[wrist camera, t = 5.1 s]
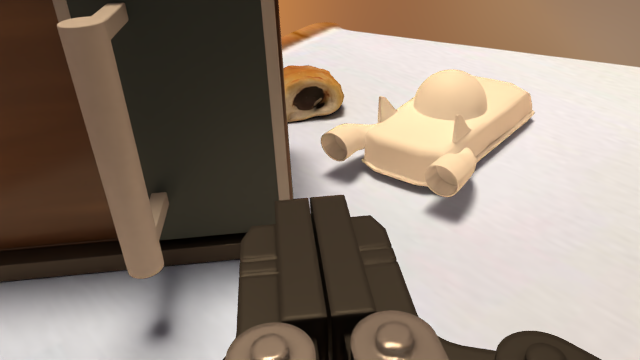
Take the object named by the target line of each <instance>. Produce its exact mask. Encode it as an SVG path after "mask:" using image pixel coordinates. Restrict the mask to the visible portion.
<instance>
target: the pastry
mask: <svg viewBox="0 0 640 360" xmlns="http://www.w3.org/2000/svg"><path fill="white" fill-rule="evenodd" d="M283 71H284V85H285V98H286V111H287V122H292V121H298V120H305V119H308V118H311V117H314V116H322V115H323V116H324V115H328V114H331V113H333V112H334V111H337V110H338V109H339V107H340V106H341V104H342V102H343V98H344V94H343V92H342V89H341V85H340V84H339V83H338V82H337V81H336V80H335V79H334V78H333V76H331V75H330V72H329V71H326V70H324V69H319V68H316V67H313V66H309V65H307V66H287V67H285V68H283Z"/></svg>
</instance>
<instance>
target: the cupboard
mask: <svg viewBox="0 0 640 360" xmlns="http://www.w3.org/2000/svg"><path fill="white" fill-rule="evenodd" d="M274 5H275V18H276V30H277V43H278V56H279V68H280V81H281V94H282V106H283V119H284V132H285V144H286V157H287V170H288V182H289V195H290V199H293V191H292V178H291V164H290V151H289V138H288V124H287V111H286V98H285V85H284V71H283V58H282V45H281V33H280V32H281V31H280V19H279V5H278V0H274ZM58 23H59V22H58V19H57V15H56V12H55V8H54V5H53V1H52V0H0V282H3V281H13V280H24V279H34V278H45V277H55V276H66V275H76V274H87V273H97V272H108V271H118V270H127V267H126V264H125V260H124V257H123V253H122V250H121V246H120V243H119V239H118V236H117V233H116V229H115V226H114V222H113V219H112V215H111V212H110V208H109V205H108V201H107V198H106V194H105V191H104V188H103V184H102V181H101V177H100V174H99V170H98V167H97V163H96V160H95V156H94V153H93V150H92V146H91V143H90V139H89V136H88V132H87V129H86V125H85V122H84V118H83V115H82V112H81V108H80V105H79V101H78V98H77V94H76V91H75V87H74V84H73V80H72V77H71V73H70V70H69V67H68V63H67V60H66V56H65V53H64V49H63V46H62V42H61V39H60V35H59V32H58V29H57V24H58ZM246 233H247V232H246ZM246 233H235V234H224V235H213V236H202V237H191V238H181V239H170V240H159V243H160V247H161V251H162V255H163V260H164V266H170V265H181V264H191V263H202V262H212V261H223V260H233V259H240V247H241V241H242V239H243V238H244V236H245V235H246Z"/></svg>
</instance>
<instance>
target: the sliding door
mask: <svg viewBox="0 0 640 360" xmlns="http://www.w3.org/2000/svg"><path fill="white" fill-rule="evenodd" d="M52 1H53V5H54V8H55V12H56V15H57V19H58V22H59V23H58V24H57V29H58V32H59V35H60V39H61V42H62V46H63V49H64V53H65V56H66V60H67V63H68V67H69V70H70V73H71V77H72V80H73V84H74V87H75V91H76V94H77V98H78V101H79V105H80V108H81V112H82V115H83V118H84V122H85V125H86V129H87V132H88V136H89V139H90V143H91V146H92V150H93V153H94V156H95V160H96V163H97V167H98V170H99V174H100V177H101V181H102V184H103V188H104V191H105V194H106V198H107V201H108V205H109V208H110V212H111V215H112V219H113V222H114V226H115V229H116V233H117V236H118V239H119V243H120V246H121V250H122V253H123V257H124V260H125V264H126V267H127V271H128V273H129V275H130V276H131V277H133V278H137V279H144V278H149V277H152V276H154V275H156V274H157V273H159V272H160V271H161V270H162V268H163V266H164V260H163V255H162V251H161V247H160V243H159V240H170V239H181V238H191V237H202V236H213V235H224V234H235V233H246V232H248V230H249V229H250V227H251V226H259V225H270V224H276V222H275V203H274V201H278V200H290V195H289V182H288V170H287V157H286V144H285V132H284V119H283V106H282V94H281V81H280V68H279V56H278V43H277V30H276V18H275V5H274V0H52Z"/></svg>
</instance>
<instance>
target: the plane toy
mask: <svg viewBox="0 0 640 360" xmlns="http://www.w3.org/2000/svg"><path fill="white" fill-rule="evenodd" d="M534 113H535V112H534V111H533V110H532V101H531V96H530V94H529V93H528V92H526V91H524V90H522V89H521V88H519V87H517V86H516V85H514V84H512V83H507V82H503V81H498V80H493V79H487V78H481V77H476V76H472V75H470V74H468V73H466V72H463V71H459V70H444V71H440V72H437V73H435V74H433V75H431V76H430V77H428V78H427V79H426V80H425V81H424V82H423V83H422V84H421V86H420V87H419V88H418V90H417V92H416V95H415V97H414V98H412V99H411V100H410V101H408V102H407V103H405V104H404V105H402V106H401V107H399V108H398V109H396V110H395V109H394V107H393V106H392V105H391V104H390V102H389V101H388V100H387V99H386V98H385V97H379V108H378V122H379V123H377V124H374V125H363V124H342V125H339V126H337V127H335V128H333V129H332V130H330V131H328V132H326V133H325V134H323V135H322V137H321V145H322V148H323V150H324V151H325V153H326V154H327V155H328V156H329V157H330V158H332V159H333V160H336V161H344V160H345V159H347V158H348V157H349V156H351V155H352V154H354V153H355V152H356V151H358V150H362V149H364V148H365V155H364V158H362V162H363V163H365V164H366V165H367V166H368V167H370V168H371V169H372V170H373V171H375V172H378V173H381V174H384V175H387V176H390V177H393V178H396V179H399V180H402V181H405V182H408V183H411V184H414V185H418V186H428V187H429V188H430V190H431V191H433V192H434V193H435V194H437V195H440V196H443V197H451V196H453V195H455V194H456V193H457V192H458V191H459V190H460V189H461V188H462V186H463V185H464V184H465V183H466V182H467V181H468V180H469V178H470V177H471V176H472V175H473V173H474V171H475V167H476V163H477V162H478V161H479V160H480V159H482V158H483V157H484V156H485V155H487V154H488V153H489V152H490V151H491V150H493V149H494V148H495V147H496V146H498V145H499V144H500V143H501V142H502V141H504V140H505V139H506V138H507V137H508V136H510V135H511V134H512V133H513V132H514V131H516V130H517V129H518V128H519V127H521V126H522V125H523V124H524V123H526V122H527V121H528V120H529V119H530V118H531V117H532V116H533V115H534Z"/></svg>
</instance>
